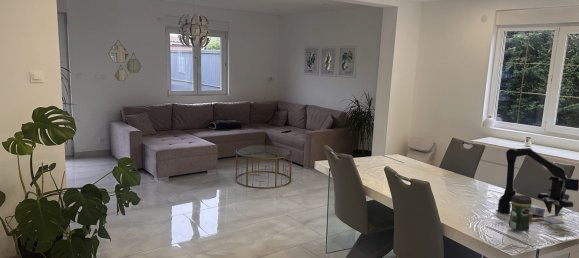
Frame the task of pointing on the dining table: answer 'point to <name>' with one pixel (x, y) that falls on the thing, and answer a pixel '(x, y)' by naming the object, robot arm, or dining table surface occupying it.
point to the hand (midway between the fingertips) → (552, 214)
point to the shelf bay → (534, 218)
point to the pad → (552, 220)
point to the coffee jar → (520, 212)
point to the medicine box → (537, 210)
